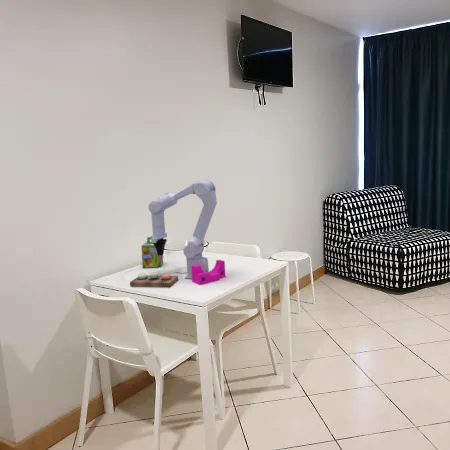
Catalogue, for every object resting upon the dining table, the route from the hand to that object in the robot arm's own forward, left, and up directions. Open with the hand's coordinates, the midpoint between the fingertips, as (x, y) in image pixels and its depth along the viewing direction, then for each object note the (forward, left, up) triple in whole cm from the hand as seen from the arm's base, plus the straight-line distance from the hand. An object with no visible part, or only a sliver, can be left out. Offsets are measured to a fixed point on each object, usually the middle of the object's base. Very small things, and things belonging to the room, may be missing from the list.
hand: (160, 255), depth 206 cm
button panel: (-2, +14, -9) cm, 17 cm away
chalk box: (+11, -16, -10) cm, 22 cm away
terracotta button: (-8, +14, -7) cm, 17 cm away
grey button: (+3, +14, -7) cm, 16 cm away
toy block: (-26, +7, -10) cm, 28 cm away
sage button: (-2, +14, -6) cm, 16 cm away
